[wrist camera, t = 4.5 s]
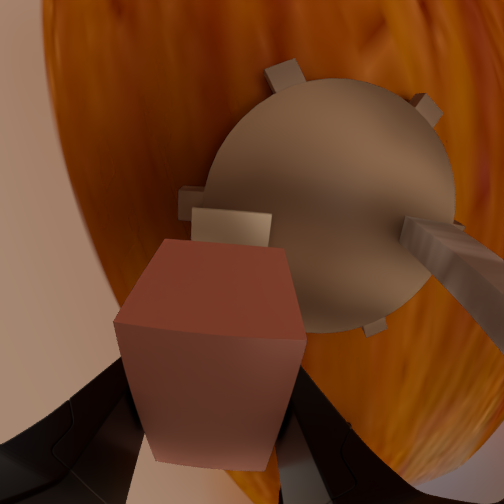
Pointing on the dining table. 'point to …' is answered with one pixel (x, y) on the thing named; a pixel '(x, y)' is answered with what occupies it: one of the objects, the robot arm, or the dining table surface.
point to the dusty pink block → (212, 352)
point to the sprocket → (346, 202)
